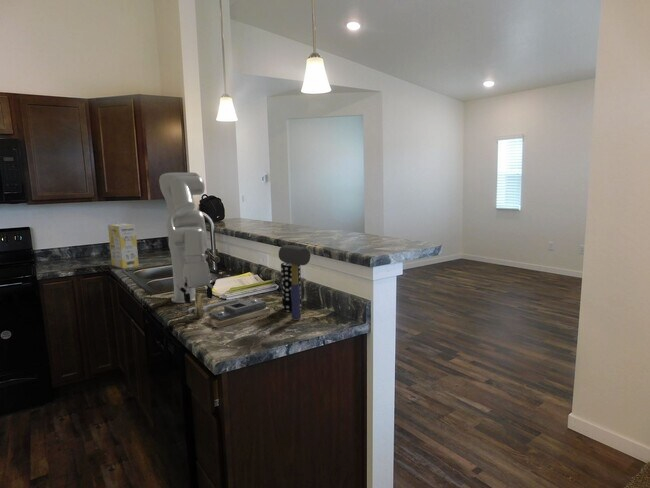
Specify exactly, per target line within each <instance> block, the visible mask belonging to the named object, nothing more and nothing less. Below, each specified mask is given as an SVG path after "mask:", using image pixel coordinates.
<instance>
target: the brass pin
mask: <svg viewBox="0 0 650 488" xmlns="http://www.w3.org/2000/svg"><path fill="white" fill-rule="evenodd" d="M195 293H196V294H194V297H195V301H194V307H195V312H196V314H195V319H197V320H199V319H204V312H203V306H204V304H203V293H202V292H195ZM195 312H194V313H195Z"/></svg>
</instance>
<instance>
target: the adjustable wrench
mask: <svg viewBox="0 0 650 488" xmlns="http://www.w3.org/2000/svg"><path fill="white" fill-rule="evenodd" d="M237 302H240V298H239V297H234V298H230V299H227V300H223V301H220V302H215V303H212V304H208V305H203V313H206V311H209V310H210V309H215V308H217V307H218V308H219V307H222V306H226V305H229V304H233V303H237ZM193 312H194V314H195V315H196V312H195V306H194V307H190V308H188V309H187V313H188V314H190V313H193Z"/></svg>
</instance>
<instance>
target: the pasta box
mask: <svg viewBox="0 0 650 488" xmlns="http://www.w3.org/2000/svg"><path fill="white" fill-rule="evenodd" d="M107 227H108V239H109V250H110V258H111V261H110V262H111V266H113V267H116V268H119V269H128V268H135V267H139V266H140V265H139V254H138V240H137V232H136V231H137V230H136V224H133V223H130V224H129V223H114V224H107Z"/></svg>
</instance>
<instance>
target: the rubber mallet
mask: <svg viewBox="0 0 650 488" xmlns="http://www.w3.org/2000/svg"><path fill="white" fill-rule="evenodd" d="M278 258H279V260H280V261H281V262H282V263H289V264H292V285H291V300H292V312H291V314H290V316H291V318H292V320H293V321H298V320H300V319H301V318H302V312H301V310H300V287H299V284H298V265H300V266H306V265H308V264H309V262H310V260H311V252H310V250H309V249H308V248H306V247H303V246H299V245H288V244H285V245H282V246H281V247H280V248H279V250H278Z"/></svg>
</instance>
